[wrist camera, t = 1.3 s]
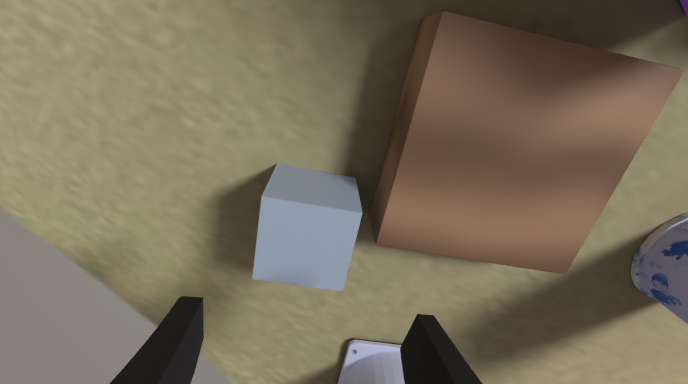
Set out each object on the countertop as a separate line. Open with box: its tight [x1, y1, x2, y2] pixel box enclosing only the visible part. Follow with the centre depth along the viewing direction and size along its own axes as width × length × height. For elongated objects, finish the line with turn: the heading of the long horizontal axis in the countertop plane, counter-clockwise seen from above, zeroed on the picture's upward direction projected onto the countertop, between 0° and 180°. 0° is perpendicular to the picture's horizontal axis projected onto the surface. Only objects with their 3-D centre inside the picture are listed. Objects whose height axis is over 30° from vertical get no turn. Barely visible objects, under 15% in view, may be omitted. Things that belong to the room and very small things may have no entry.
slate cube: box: [252, 164, 362, 291], centre depth 19 cm, size 5×5×5 cm
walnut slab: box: [369, 11, 684, 274], centre depth 19 cm, size 12×12×4 cm
